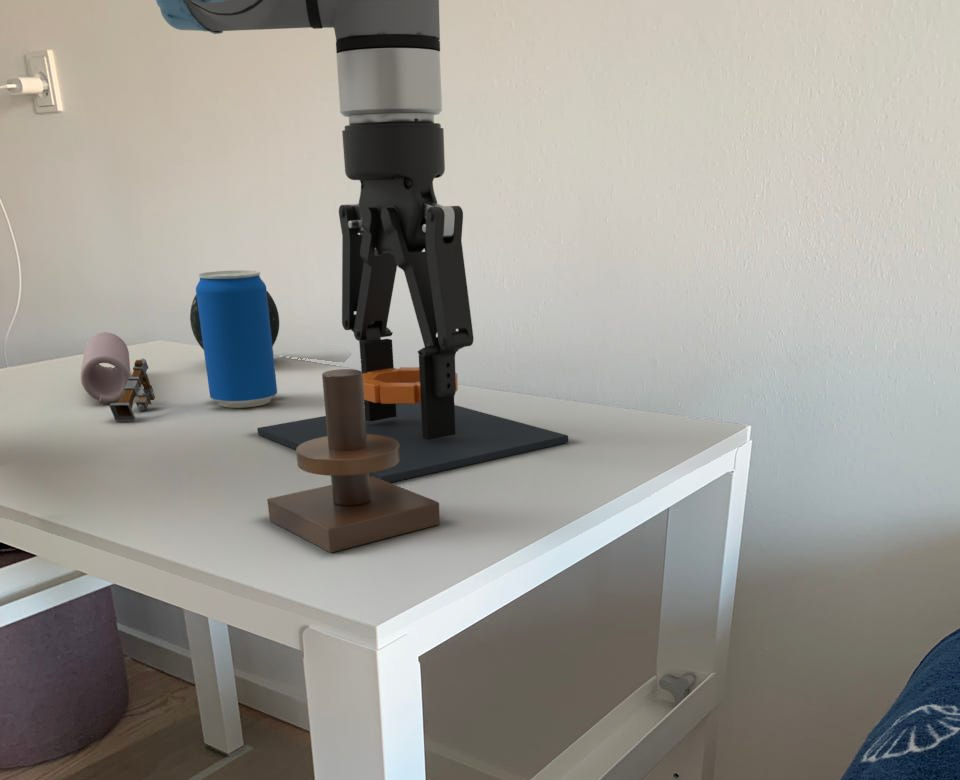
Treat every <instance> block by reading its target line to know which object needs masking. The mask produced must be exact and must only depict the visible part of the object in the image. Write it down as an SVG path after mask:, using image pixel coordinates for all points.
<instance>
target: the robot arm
mask: <svg viewBox="0 0 960 780" xmlns="http://www.w3.org/2000/svg"><path fill="white" fill-rule="evenodd" d="M155 2H156V5H157V6H158V8H159V9H160V13H161V16H162V17H163V20H164V21H165V22H166V23H167V24H168V25H169V26H170V27H172V28H173V29H175V30H179V31H199V32H209V33H210V34H214V35H218V34H223V33H224V32H234V31H236V32H237V31H259V30H261V31H262V30H279V29H280V30H284V29H306V28H307V29H308V28H311V29H313V30H317V29H320V30H321V29H331V28H332V29H334V30H333V31H334V35H335V51H336V68H337V82H338V83H337V84H338V85H337V86H338V99H339V113H340V114H341V115H342V116H343V117H346V118H348V124H347V125H344V129H343V130H341V134H342V148H343V160H344V161H343V162H344V163H343V164H344V172H345V176H346V177H347V179H349V180H351V181H359V182H360V194H359V200H358V203H354V204H353V203H352V204H350V203H349V204H340V205H339V207H338V217H339V223H340V224H339V225H340V229H341V235H342V238H341V239H342V243H341V244H342V245H341V247H342V248H341V249H342V250H341V251H342V253H341V254H342V255H341V256H342V259H341V261H342V262H341V286H342V287H341V325H342V328H343V329H344V330H345V331H351V332H353V336H354V339H355V340H357V341H358V342H359V344H358V345H359V357H360V358H359V359H360V371H361V372H362V374H363V373H367V372H370V371H377V370H383V369H390V368H395V366H394V351H393V349H394V348H393V339H391V338H388V337H392V335H393V333H394V332H392V330H390V328H388V321H389V315H390V309H391V304H392V297H393V293H394V287H395V280H396V274H397V268H399V269H401V270H402V271H403V272H404V276H405V281H406V284H407V289H408V291H409V293H410V299H411V303H412V306H413V309H414V312H415V317H416V320H417V323H418V324H417V325H418V327H419V331H420V335H421V339H422V342H423V347H422V348H421V349H419V350H417V354H418V367H419V373H420V393H421V414H422V434H423V439H427V440H430V439H435V438H440V437H445V436H450V435H454V434H455V408H454V405H455V396H456V393H455V391H456V382H455V381H456V377H455V376H456V375H455V372H456V354H457V352H459V350H461V349H463V348H467V347H471V346H472V345H473V344H474V330H473V323H472V313H471V306H470V299H469V298H470V297H469V291H468V282H467V274H466V267H465V257H464V250H463V242H462V240H463V239H462V237H463V224H464V223H463V222H464V212H463V208H462V207H461V206H460V205H441V204H439V203H438V200H437V197H436V194H435V190H434V180H435V179H439V178H441V177H442V176H443V175H444V174H445V170H446V162H445V159H446V158H445V134H444V133H445V131H444V128H443V127H441V126H442V124H441V123H439V122H435V116H436V115H439V114H441V112H442V111H443V99H442V98H443V97H442V77H441V75H442V74H441V53H440V52H441V31H440V30H441V28H440V27H441V26H440V0H155ZM386 337H387V338H386ZM382 338H383V339H382ZM364 406H365V419H366V420H367V421H376V420H381V419H386V418H392V417H397V416H396V404H381V402H379V403H374V402H370V401H367V400H364Z"/></svg>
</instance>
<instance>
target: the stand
mask: <svg viewBox="0 0 960 780" xmlns="http://www.w3.org/2000/svg"><path fill="white" fill-rule="evenodd" d="M321 376H322V377H321V378H322V389H323V402H324V411H325V416H326V425H327V436H326V437H320V438H316V439H312V440H309V441H306V442H304V443H302V444H300V445H299V446H298V447H297V449H295V454H296V464H297V467H298V468H299V469H300V470H301V471H303V472H306V473H309V474H313V475H318V476H319V475H320V476H330V481H331V484H328V485H324V486H320V487H315V488H311V489H306V490H301V491H298V492H293V493H288V494H283V495H279V496H274V497H269V498H267V509H268V517H269V521H270V522H271V523H273V524H276V525H277V526H279V527H281V528H283V529H285V530H287V531H289V532H290V533H293V534H295V535H297V536H298V537H300V538H301V539H304V540H306V541H308V542H309V543H311V544H314V545H315V546H318V547H319V548H321V549H323V550H325V551H327V552H328V553H330V554H331V553H335V552H339V551H343V550H347V549H351V548H354V547H358V546H361V545H362V546H363V545H366V544H370V543H373V542H377V541H382V540H385V539H388V538H392V537H397V536H400V535H404V534H408V533H412V532H415V531H419V530H423V529H428V528H431V527H435V526H439V525H440V524H441V519H440V515H441V514H440V502H439V501H436V500H434V499H431V498H429V497H426V496H424V495H421V494H419V493H416V492H414V491H411V490H408V489H406V488H403V487H401V486H399V485H396V484H393V483H392V482H391V483H389V482H386V481H384V480H381V479H378V478H376V477H373V476H369V473H374V472H379V471H383V470H386V469H389V468H391V467H393V466H395V465H396V464H398V463H399V461H400V447H399V443H398V441H396V440H395V439H392V438H389V437H386V436H381V435H372V434H366V420H365V405H364V392H363V378H362V372H361V370H359V369H353V368H340V369H339V368H338V369H331V370H326V371H324V372H322V374H321Z"/></svg>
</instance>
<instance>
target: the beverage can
mask: <svg viewBox="0 0 960 780" xmlns="http://www.w3.org/2000/svg"><path fill="white" fill-rule="evenodd" d="M260 275H261V272H260V271H258V270H246V269H245V270H244V269H243V270H242V269H241V270H235V269H234V270H217V271H208V272H207V271H206V272H201V273H199V274H198V278H199V280H198V282H197V284H196V287H195V295H197V303H198V310H199V318H200V325H201V333H202V340H203V348H204V350H203V352H204V353H203V355H204V361H205V368H206V376H207V383H208V392H209V398H210V399H212V401H215V402H217V403H218V405H219V406H221V407H224V408H229V409H230V408H231V409H244V408H254V407H260V406H264V405H267V404H269V403H270V402H271V400H272V399H273V398H274V397H275V396H276V395H277V394H278V387H277V377H276V367H275V357H274V356H275V355H274V348H273V347H274V346H273V347H272V337H271V328H270V319H269V309H268V300H267V291H268V290H267V286H266V283H265V282H264V280H263V279H262V278H261V276H260Z"/></svg>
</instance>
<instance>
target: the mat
mask: <svg viewBox="0 0 960 780" xmlns="http://www.w3.org/2000/svg"><path fill="white" fill-rule="evenodd" d="M454 408H455V434H454V435H450V436H445V437H440V438H435V439H430V440H427V439H423V434H422V414H421V403H418V402H416V403H415V404H396V416H397V417H392V418H386V419H381V420H376V421H367V420H366V419H365V420H366V434H372V435H381V436H386V437H389V438H392V439H395V440H396V441H398V443H399V447H400V461H399V463H398V464H396V465H395V466H393V467H391V468H389V469H386V470H383V471H379V472H374V473H369V476H373V477H376V478H378V479H381V480H384V481H386V482H389V483H391V484H392V483H395V482H400V481H403V480H404V481H405V480H408V479H412V478H416V477H420V476H425V475H430V474H435V473H439V472H443V471H447V470H452V469H455V468H456V469H457V468H461V467H466V466H470V465H474V464H479V463H482V462H488V461H492V460H496V459H500V458H505V457H510V456H514V455H517V454H523V453H528V452H533V451H536V450H541V449H545V448H549V447H554V446H559V445H562V444H567V443H569V435H568V434H565V433H561V432H557V431H553V430H550V429H546V428H542V427H538V426H534V425H531V424H527V423H523V422H520V421H516V420H512V419H509V418H505V417H501V416H498V415H493V414H491V413H488V412H487V413H486V412H483V411H479V410H475V409H471V408H468V407H464V406H460V405H456V404H454ZM256 429H257V435H259V436H261V437H264V438H266V439H269V440H271V441H274V442H276V443H279V444H280V445H283V446H286V447H288V448H291V449H293V450H296V449H297V447H298V446H299V445H300V444H302V443H304V442H306V441H309V440H312V439H316V438H320V437H326V436H327V425H326V415H322V416H316V417H312V418H311V417H310V418H305V419H300V420H295V421H289V422H281V423H278V424H277V423H276V424H272V425H266V426H261V427H257V428H256Z"/></svg>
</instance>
